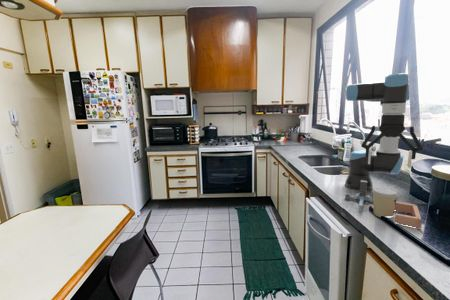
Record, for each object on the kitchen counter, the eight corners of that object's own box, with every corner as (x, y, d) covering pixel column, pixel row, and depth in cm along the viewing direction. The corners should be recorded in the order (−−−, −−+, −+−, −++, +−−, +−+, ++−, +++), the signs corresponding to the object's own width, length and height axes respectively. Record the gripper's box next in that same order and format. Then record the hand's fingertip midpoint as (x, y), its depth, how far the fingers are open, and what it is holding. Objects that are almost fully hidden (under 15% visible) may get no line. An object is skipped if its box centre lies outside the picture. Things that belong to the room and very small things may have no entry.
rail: (345, 197, 128) (346, 192, 127) (403, 207, 113) (404, 202, 113) (345, 199, 126) (345, 194, 125) (404, 209, 111) (404, 203, 111)
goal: (393, 209, 112) (394, 201, 111) (415, 213, 107) (416, 204, 106) (394, 224, 99) (395, 214, 98) (420, 229, 94) (421, 219, 93)
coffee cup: (399, 219, 102) (402, 195, 100) (376, 218, 104) (378, 194, 102) (389, 210, 111) (391, 187, 109) (368, 209, 113) (369, 187, 111)
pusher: (356, 198, 125) (357, 179, 123) (369, 201, 122) (370, 181, 120) (353, 211, 111) (354, 190, 109) (367, 214, 108) (369, 192, 106)
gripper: (356, 115, 94) (353, 164, 98) (436, 113, 80) (429, 170, 84) (357, 114, 100) (354, 160, 104) (432, 112, 86) (426, 166, 90)
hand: (388, 165), depth 94 cm, fingers open, 13 cm apart
